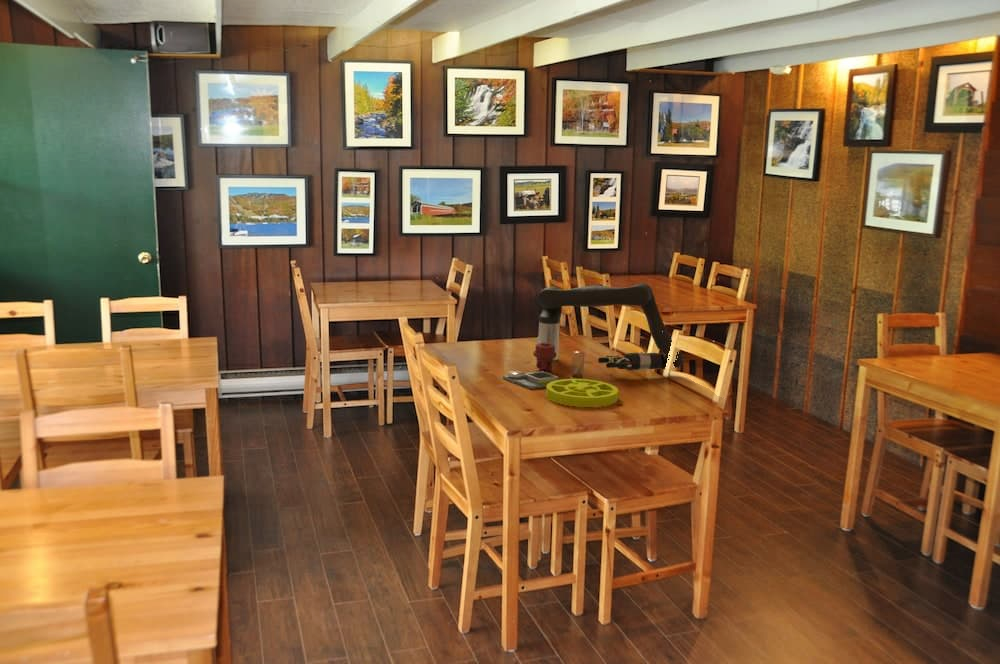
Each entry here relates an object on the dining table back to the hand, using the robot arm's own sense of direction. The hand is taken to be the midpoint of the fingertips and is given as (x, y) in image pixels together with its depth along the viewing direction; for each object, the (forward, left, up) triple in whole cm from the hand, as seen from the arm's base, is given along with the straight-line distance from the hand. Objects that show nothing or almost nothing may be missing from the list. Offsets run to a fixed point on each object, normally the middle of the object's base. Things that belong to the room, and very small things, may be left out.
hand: (602, 362), depth 376 cm
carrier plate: (-9, -29, -7) cm, 32 cm away
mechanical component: (-22, -13, -7) cm, 27 cm away
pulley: (+19, -26, -8) cm, 33 cm away
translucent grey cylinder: (-3, -10, -7) cm, 13 cm away
